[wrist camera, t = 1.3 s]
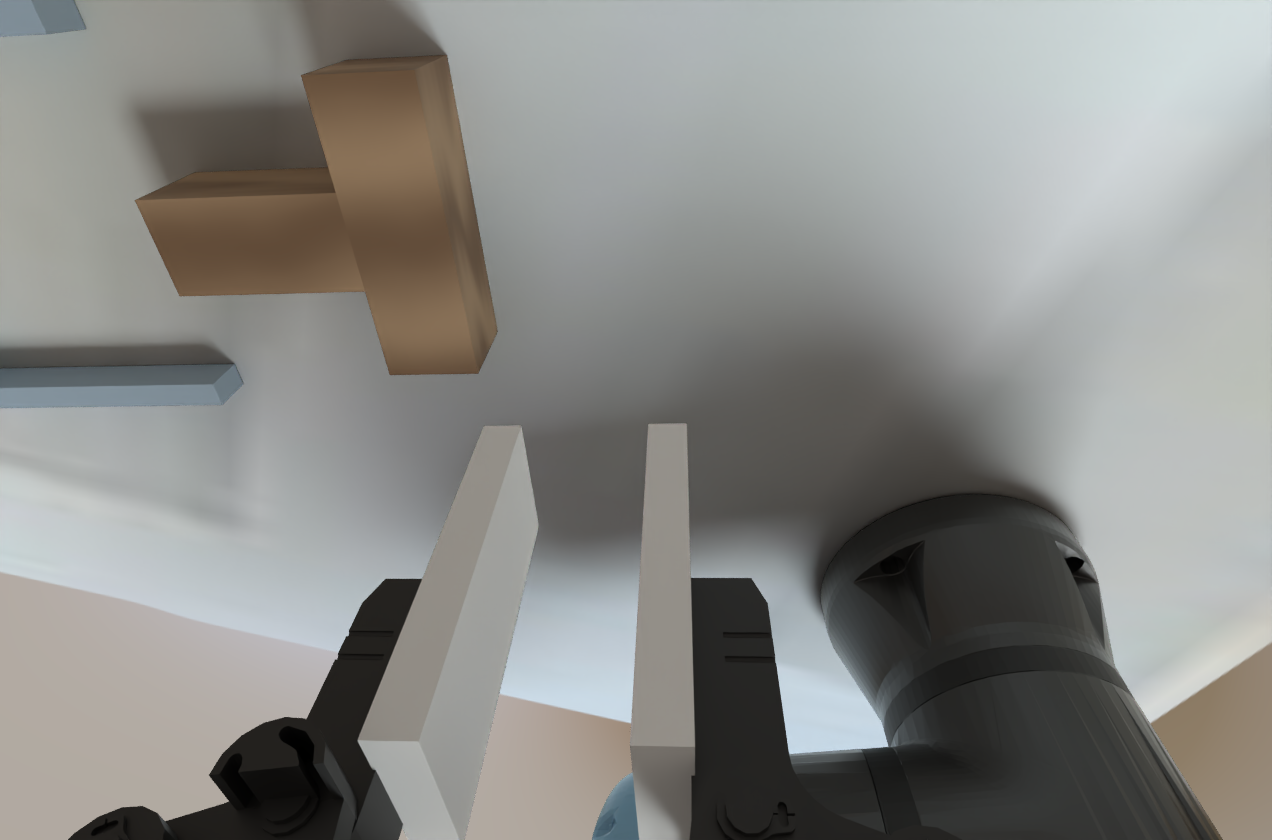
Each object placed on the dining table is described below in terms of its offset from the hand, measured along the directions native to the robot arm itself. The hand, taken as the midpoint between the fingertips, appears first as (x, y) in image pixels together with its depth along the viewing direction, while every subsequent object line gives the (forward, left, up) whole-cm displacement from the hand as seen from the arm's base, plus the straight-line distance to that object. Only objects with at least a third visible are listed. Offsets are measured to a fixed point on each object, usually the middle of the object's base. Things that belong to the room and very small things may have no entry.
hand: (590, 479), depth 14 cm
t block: (0, +13, -19) cm, 23 cm away
